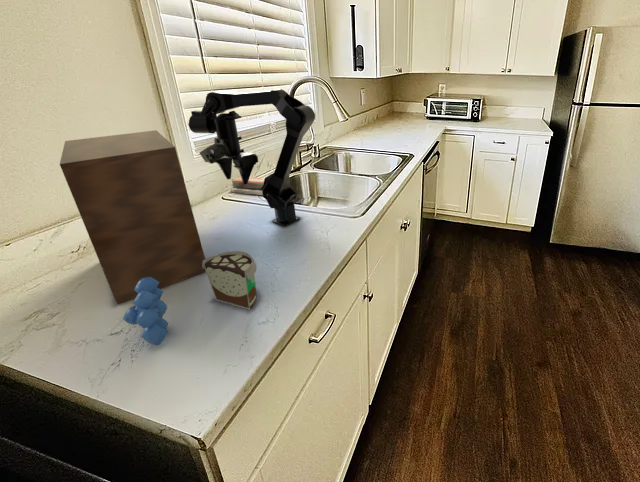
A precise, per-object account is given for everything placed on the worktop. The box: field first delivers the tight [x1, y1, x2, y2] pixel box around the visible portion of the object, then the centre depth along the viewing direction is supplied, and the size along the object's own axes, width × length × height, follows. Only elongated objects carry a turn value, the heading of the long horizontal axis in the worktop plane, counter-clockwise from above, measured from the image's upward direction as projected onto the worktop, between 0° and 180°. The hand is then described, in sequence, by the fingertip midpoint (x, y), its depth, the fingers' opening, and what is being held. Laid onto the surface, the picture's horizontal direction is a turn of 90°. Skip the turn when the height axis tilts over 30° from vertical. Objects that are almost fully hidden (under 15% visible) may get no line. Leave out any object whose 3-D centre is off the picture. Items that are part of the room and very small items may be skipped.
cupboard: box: [59, 129, 206, 305], centre depth 80 cm, size 18×26×32 cm
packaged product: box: [229, 176, 265, 196], centre depth 133 cm, size 18×5×10 cm
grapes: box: [122, 277, 170, 346], centre depth 60 cm, size 12×7×12 cm, turn 31°
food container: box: [202, 250, 258, 311], centre depth 71 cm, size 12×6×10 cm, turn 71°
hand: (237, 181), depth 105 cm, fingers open, 9 cm apart
